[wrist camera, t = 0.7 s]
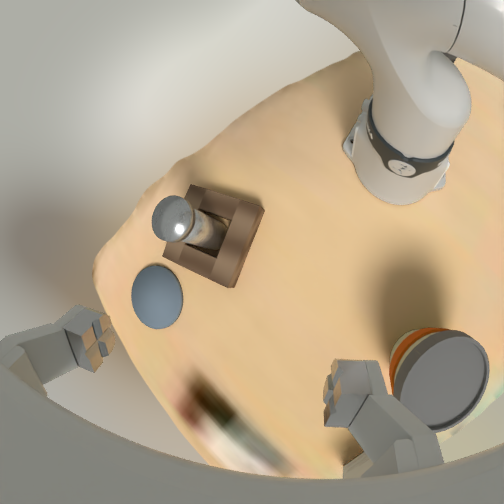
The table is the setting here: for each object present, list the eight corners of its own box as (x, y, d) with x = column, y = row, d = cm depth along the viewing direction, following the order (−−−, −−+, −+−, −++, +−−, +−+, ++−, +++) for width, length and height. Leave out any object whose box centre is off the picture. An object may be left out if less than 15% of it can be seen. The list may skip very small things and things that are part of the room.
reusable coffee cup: (434, 394, 33) (466, 434, 19) (369, 386, 37) (381, 432, 23) (456, 323, 33) (503, 338, 19) (390, 311, 37) (418, 326, 23)
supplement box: (341, 466, 36) (338, 510, 24) (373, 443, 35) (379, 486, 23) (365, 482, 33) (367, 525, 21) (396, 460, 33) (406, 502, 21)
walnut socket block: (198, 189, 49) (190, 184, 46) (264, 210, 45) (259, 205, 42) (171, 257, 49) (162, 256, 47) (234, 287, 45) (227, 287, 42)
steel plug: (207, 214, 48) (162, 190, 35) (236, 224, 46) (196, 202, 33) (194, 245, 48) (145, 232, 35) (223, 257, 46) (179, 247, 33)
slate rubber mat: (144, 256, 51) (142, 256, 51) (191, 281, 48) (189, 281, 47) (127, 310, 52) (125, 310, 51) (171, 339, 48) (169, 340, 47)
